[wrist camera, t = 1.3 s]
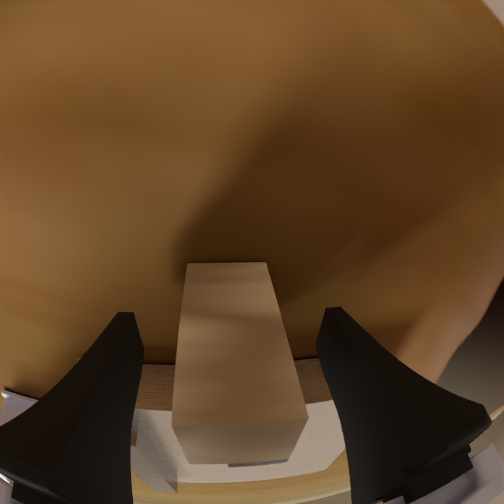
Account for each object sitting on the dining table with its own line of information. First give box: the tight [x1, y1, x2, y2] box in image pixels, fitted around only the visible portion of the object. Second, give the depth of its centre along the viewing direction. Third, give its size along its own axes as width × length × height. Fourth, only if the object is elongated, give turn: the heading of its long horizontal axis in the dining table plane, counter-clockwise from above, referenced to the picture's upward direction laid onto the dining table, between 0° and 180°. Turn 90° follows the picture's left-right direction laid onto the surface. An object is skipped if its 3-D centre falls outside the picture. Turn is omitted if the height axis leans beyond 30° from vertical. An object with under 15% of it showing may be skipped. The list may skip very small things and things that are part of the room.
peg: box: [171, 262, 309, 464], centre depth 9 cm, size 3×3×7 cm
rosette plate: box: [77, 358, 345, 493], centre depth 17 cm, size 18×16×5 cm
